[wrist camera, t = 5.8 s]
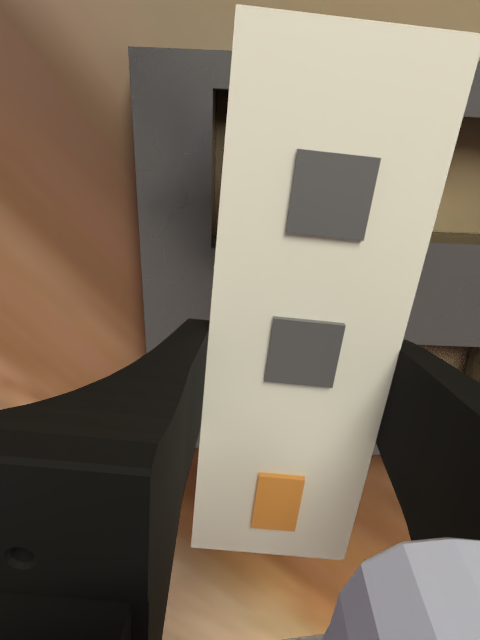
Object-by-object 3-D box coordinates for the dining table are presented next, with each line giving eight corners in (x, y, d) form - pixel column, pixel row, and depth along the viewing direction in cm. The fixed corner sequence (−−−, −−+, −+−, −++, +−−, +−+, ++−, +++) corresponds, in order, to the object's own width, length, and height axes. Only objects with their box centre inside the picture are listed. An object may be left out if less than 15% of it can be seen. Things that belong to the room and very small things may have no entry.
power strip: (205, 437, 17) (190, 551, 13) (239, 51, 12) (235, 1, 8) (317, 447, 18) (344, 564, 13) (397, 69, 12) (489, 32, 8)
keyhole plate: (158, 422, 21) (151, 445, 20) (139, 52, 15) (128, 46, 13) (540, 437, 21) (562, 461, 20) (689, 75, 15) (737, 71, 13)
